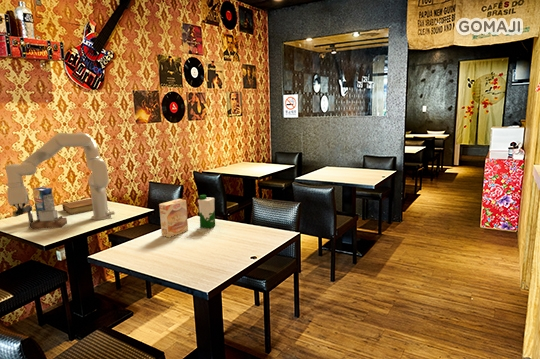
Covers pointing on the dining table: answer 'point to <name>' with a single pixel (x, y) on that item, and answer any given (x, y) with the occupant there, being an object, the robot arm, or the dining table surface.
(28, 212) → the post
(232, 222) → the dining table surface
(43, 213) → the light grey block
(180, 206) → the coffeecake box
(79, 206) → the diary
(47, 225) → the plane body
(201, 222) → the milk carton
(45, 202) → the beverage box
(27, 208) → the lever
